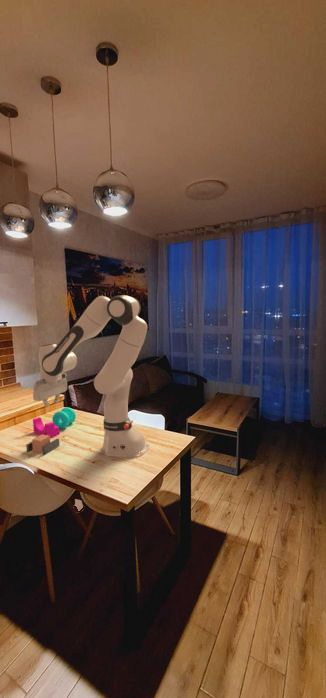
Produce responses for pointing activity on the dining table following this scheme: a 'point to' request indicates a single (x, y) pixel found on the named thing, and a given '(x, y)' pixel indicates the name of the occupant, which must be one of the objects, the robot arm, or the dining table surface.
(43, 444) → the terracotta block
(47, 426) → the toy block
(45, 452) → the guide channel
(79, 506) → the vase
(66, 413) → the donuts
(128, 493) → the dining table surface
